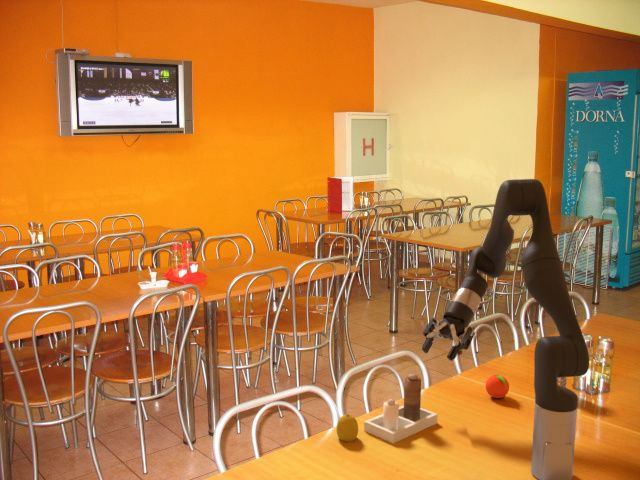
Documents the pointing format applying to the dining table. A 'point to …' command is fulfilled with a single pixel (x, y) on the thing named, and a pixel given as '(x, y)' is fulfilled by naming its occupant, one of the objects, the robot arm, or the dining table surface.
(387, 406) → the salt shaker
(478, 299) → the robot arm
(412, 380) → the pepper mill
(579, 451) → the dining table surface
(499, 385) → the clementine
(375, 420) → the caddy
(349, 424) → the lemon
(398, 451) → the dining table surface
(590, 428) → the dining table surface
